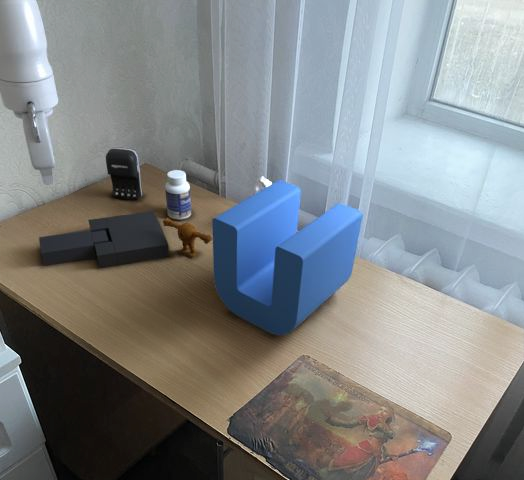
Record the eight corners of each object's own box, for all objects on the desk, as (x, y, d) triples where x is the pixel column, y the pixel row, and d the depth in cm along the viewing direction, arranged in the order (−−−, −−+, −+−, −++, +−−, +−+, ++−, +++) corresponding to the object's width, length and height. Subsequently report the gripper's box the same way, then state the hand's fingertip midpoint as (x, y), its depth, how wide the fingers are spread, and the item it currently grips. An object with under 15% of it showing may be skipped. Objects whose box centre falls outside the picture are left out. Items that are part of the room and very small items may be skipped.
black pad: (99, 268, 106) (97, 255, 104) (90, 232, 115) (88, 219, 113) (169, 256, 110) (168, 244, 108) (155, 222, 119) (154, 210, 117)
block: (214, 303, 99) (212, 216, 87) (272, 261, 110) (277, 178, 98) (293, 345, 92) (303, 257, 80) (347, 296, 103) (363, 211, 90)
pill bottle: (184, 222, 120) (181, 181, 113) (163, 217, 121) (159, 176, 114) (195, 211, 123) (193, 171, 117) (174, 206, 125) (171, 166, 118)
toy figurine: (160, 247, 112) (157, 218, 107) (172, 240, 114) (169, 211, 110) (205, 268, 107) (204, 238, 103) (216, 259, 110) (216, 230, 105)
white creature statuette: (230, 224, 120) (229, 173, 112) (262, 214, 123) (264, 165, 115) (252, 244, 114) (254, 192, 106) (285, 234, 118) (289, 183, 110)
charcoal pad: (44, 265, 106) (40, 253, 104) (42, 249, 110) (38, 237, 108) (111, 255, 109) (109, 242, 107) (107, 240, 113) (104, 227, 111)
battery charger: (110, 200, 126) (101, 152, 118) (115, 192, 128) (107, 145, 120) (139, 203, 125) (132, 155, 117) (143, 195, 128) (138, 148, 120)
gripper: (53, 114, 83) (70, 195, 93) (44, 71, 97) (60, 146, 107) (10, 117, 82) (31, 199, 91) (7, 73, 95) (26, 149, 105)
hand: (47, 170), depth 99 cm, fingers open, 8 cm apart
